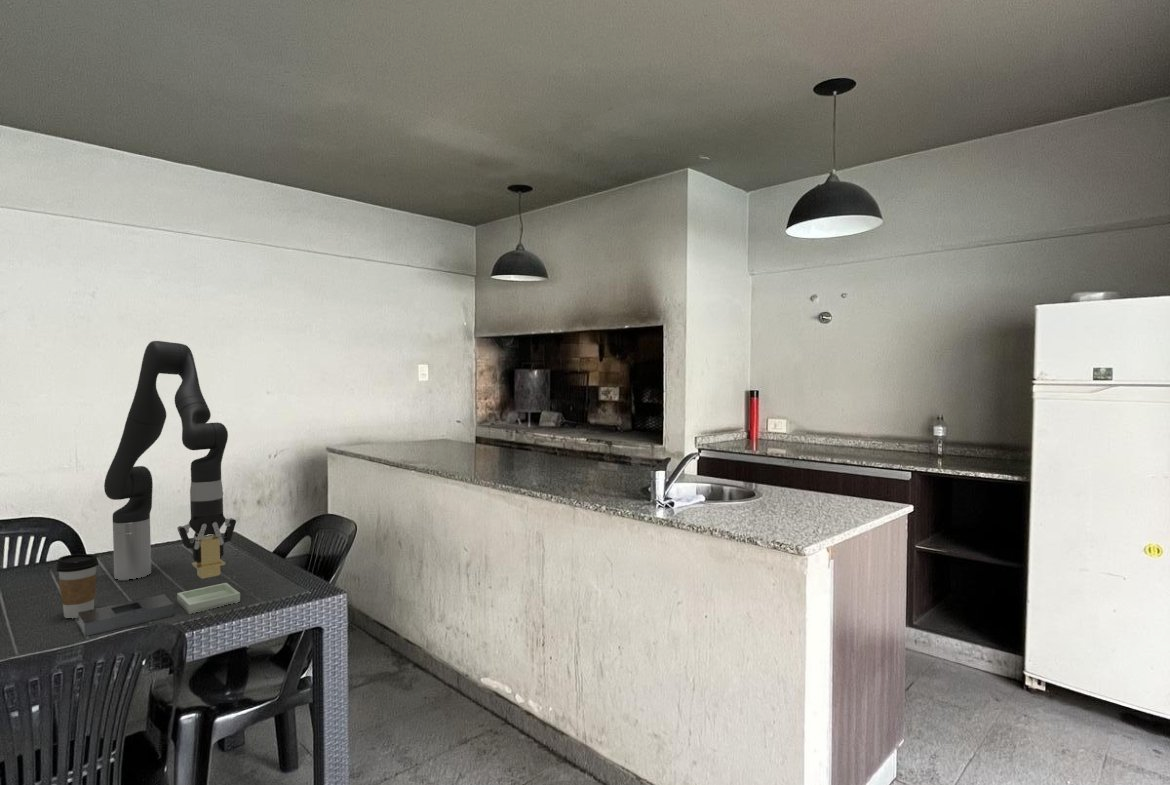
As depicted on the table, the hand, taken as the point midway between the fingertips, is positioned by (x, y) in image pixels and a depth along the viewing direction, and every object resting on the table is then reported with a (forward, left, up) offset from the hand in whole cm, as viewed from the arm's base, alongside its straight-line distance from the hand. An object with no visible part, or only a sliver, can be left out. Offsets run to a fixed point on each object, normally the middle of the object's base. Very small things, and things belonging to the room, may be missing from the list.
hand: (208, 560), depth 171 cm
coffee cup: (-14, -26, -12) cm, 32 cm away
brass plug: (0, 0, -4) cm, 4 cm away
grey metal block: (-1, -18, -12) cm, 21 cm away
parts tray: (0, 0, -12) cm, 12 cm away
